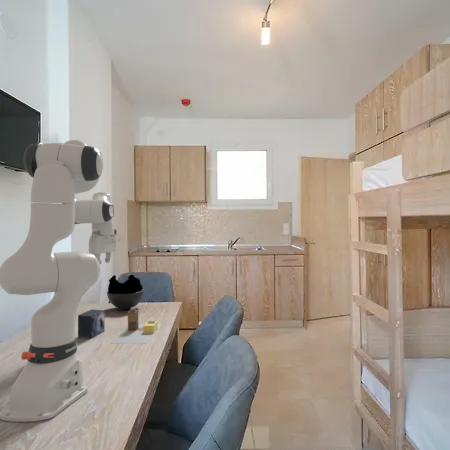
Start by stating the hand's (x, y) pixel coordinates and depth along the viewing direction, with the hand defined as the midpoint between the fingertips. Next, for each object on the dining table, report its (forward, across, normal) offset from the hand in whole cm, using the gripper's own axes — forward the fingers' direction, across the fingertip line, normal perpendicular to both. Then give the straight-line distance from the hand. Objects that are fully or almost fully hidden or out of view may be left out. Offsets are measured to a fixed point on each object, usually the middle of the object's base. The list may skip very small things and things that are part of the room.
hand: (103, 263), depth 151 cm
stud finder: (+29, +3, -19) cm, 35 cm away
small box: (+31, -3, +4) cm, 31 cm away
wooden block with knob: (+29, +4, -11) cm, 32 cm away
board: (+31, -1, -15) cm, 34 cm away
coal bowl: (+30, +47, +7) cm, 56 cm away
